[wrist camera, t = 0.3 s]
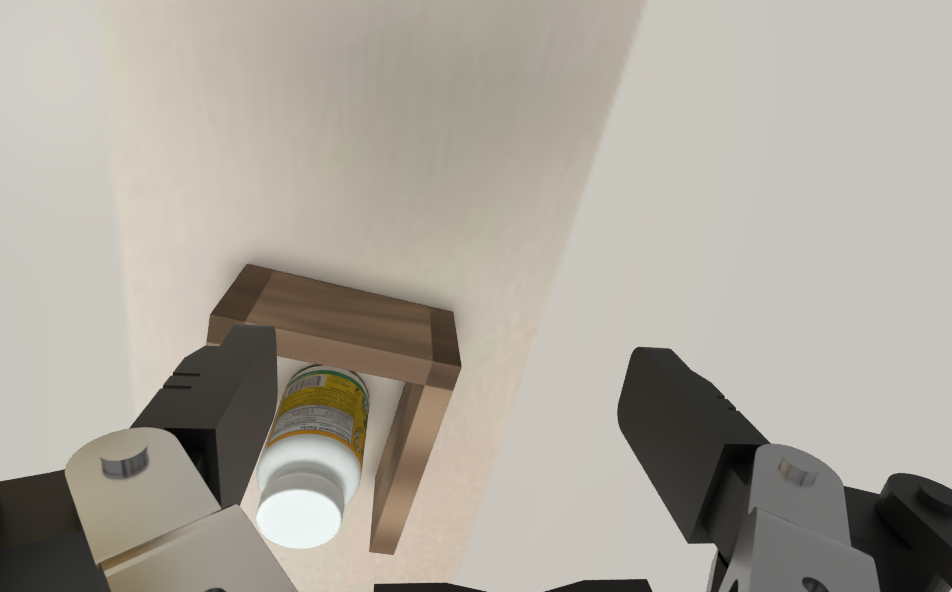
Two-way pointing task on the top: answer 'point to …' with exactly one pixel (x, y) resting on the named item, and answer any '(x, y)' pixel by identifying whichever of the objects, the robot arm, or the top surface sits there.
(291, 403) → the supplement bottle
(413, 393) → the walnut open box
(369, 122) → the top surface
